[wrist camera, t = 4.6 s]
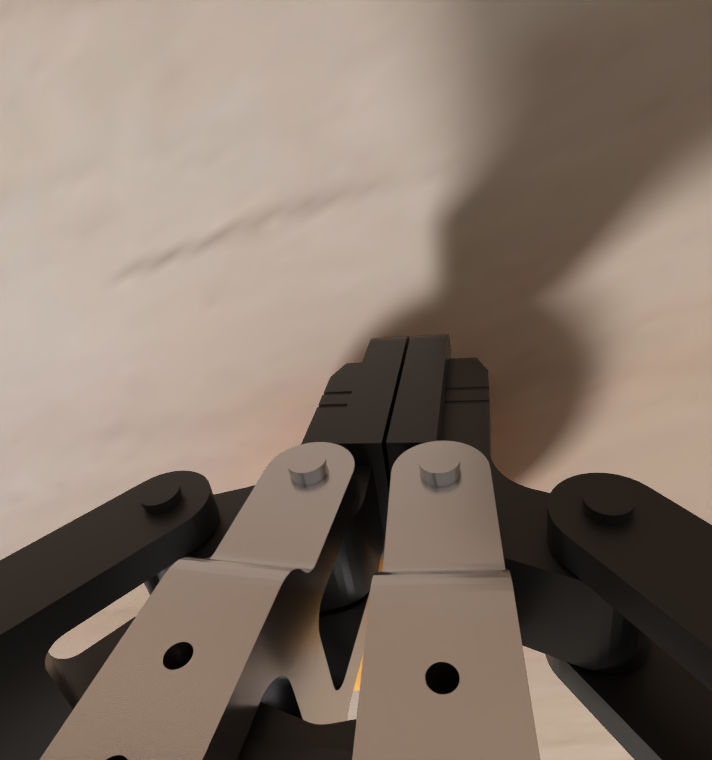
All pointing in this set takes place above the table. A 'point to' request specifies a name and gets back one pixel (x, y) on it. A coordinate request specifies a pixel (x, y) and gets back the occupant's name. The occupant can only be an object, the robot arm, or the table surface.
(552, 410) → the table surface
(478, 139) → the table surface
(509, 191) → the table surface
